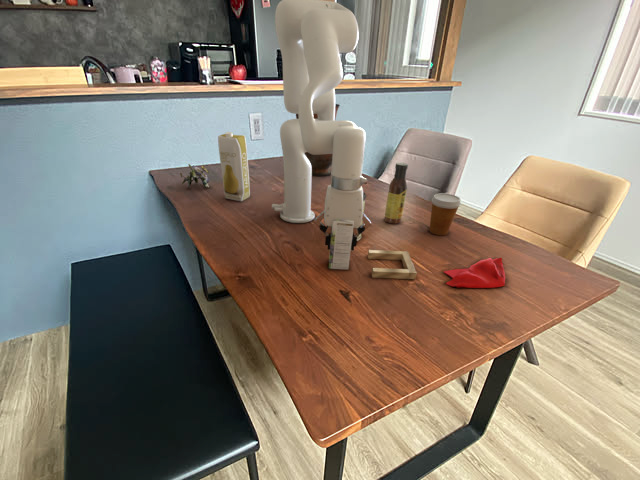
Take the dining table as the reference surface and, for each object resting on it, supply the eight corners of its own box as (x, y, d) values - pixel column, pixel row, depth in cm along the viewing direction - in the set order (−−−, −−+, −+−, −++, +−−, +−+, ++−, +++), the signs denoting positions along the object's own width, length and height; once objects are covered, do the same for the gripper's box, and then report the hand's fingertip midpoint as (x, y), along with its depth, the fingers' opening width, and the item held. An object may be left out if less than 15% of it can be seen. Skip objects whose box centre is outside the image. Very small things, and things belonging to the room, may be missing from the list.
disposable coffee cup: (437, 239, 122) (446, 204, 115) (419, 228, 129) (426, 194, 122) (458, 234, 126) (468, 200, 119) (439, 224, 133) (447, 191, 125)
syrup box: (328, 259, 108) (332, 212, 99) (348, 260, 108) (353, 213, 99) (328, 269, 103) (331, 220, 94) (349, 270, 103) (354, 221, 94)
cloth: (468, 299, 94) (471, 291, 92) (431, 274, 103) (433, 267, 102) (532, 276, 105) (535, 269, 103) (493, 256, 114) (495, 249, 113)
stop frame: (372, 277, 100) (373, 271, 99) (367, 255, 111) (368, 249, 110) (415, 279, 101) (416, 273, 99) (406, 257, 111) (407, 251, 110)
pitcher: (343, 176, 176) (348, 104, 157) (303, 180, 168) (304, 105, 150) (327, 167, 187) (331, 99, 169) (289, 170, 179) (288, 100, 161)
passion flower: (208, 200, 157) (214, 181, 147) (182, 198, 152) (186, 179, 142) (203, 179, 160) (208, 159, 150) (177, 176, 155) (181, 156, 145)
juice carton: (222, 198, 144) (213, 132, 130) (233, 193, 150) (226, 128, 136) (242, 202, 142) (236, 135, 127) (252, 196, 148) (248, 131, 133)
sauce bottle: (400, 225, 131) (411, 167, 119) (383, 223, 131) (392, 165, 119) (401, 218, 136) (411, 162, 124) (384, 216, 137) (393, 160, 125)
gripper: (378, 179, 94) (369, 243, 105) (311, 176, 94) (310, 240, 105) (381, 188, 88) (372, 255, 99) (311, 185, 88) (309, 252, 99)
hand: (340, 247), depth 102 cm, fingers closed on syrup box, 5 cm apart
